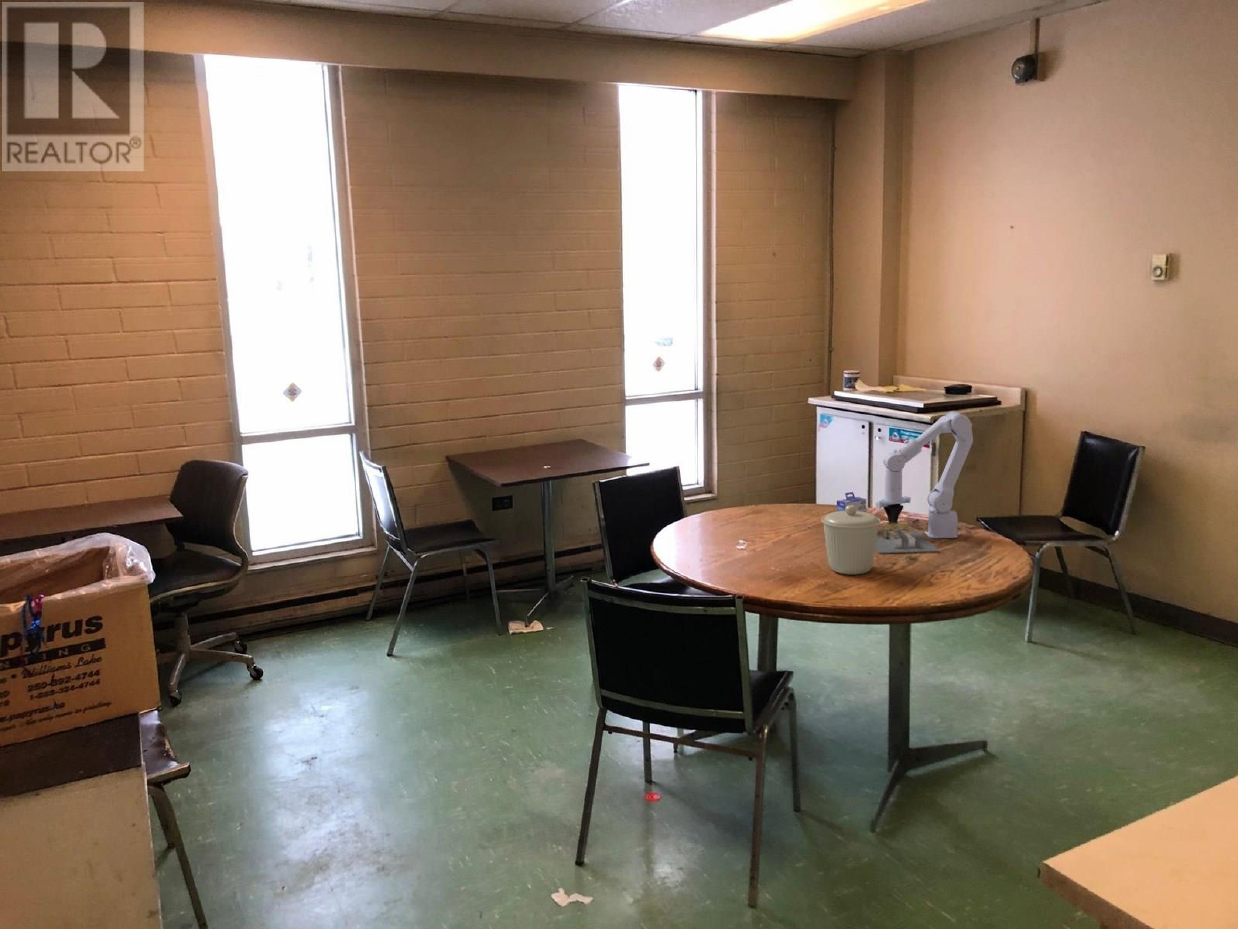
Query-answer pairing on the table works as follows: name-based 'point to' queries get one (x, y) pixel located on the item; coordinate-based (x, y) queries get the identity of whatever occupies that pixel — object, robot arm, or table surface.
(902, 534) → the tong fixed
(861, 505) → the ink cartridge box
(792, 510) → the table surface
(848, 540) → the canister
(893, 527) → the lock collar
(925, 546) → the mat
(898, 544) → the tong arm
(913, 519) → the table surface
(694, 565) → the table surface
